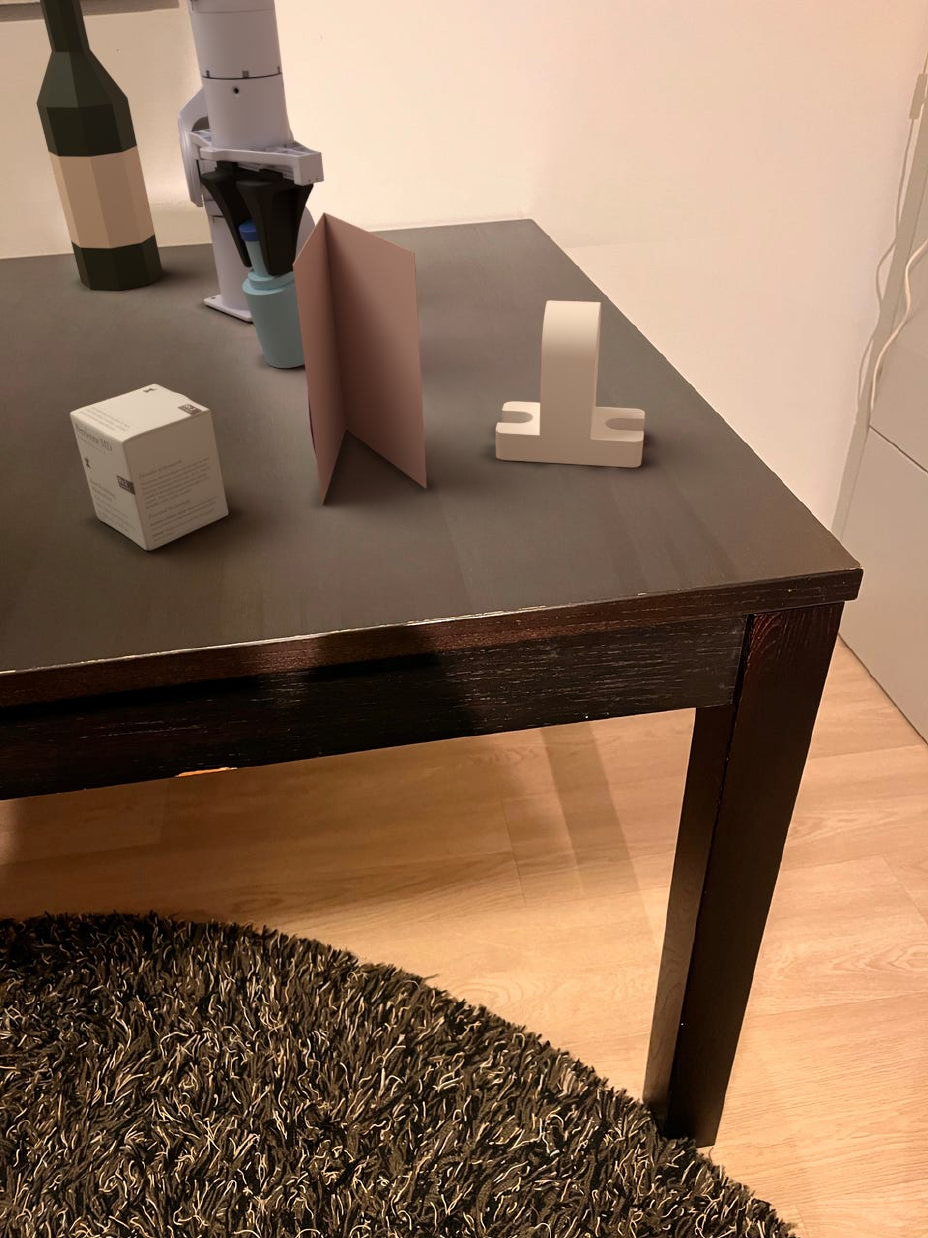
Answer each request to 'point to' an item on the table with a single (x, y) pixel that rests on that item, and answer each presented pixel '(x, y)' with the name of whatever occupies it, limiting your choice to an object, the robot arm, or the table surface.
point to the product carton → (151, 464)
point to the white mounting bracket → (570, 401)
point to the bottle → (272, 307)
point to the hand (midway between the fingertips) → (268, 268)
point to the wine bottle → (95, 159)
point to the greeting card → (360, 345)
